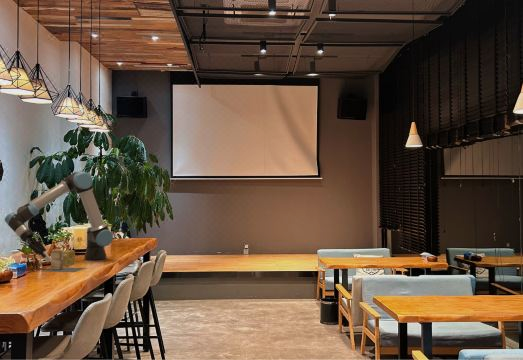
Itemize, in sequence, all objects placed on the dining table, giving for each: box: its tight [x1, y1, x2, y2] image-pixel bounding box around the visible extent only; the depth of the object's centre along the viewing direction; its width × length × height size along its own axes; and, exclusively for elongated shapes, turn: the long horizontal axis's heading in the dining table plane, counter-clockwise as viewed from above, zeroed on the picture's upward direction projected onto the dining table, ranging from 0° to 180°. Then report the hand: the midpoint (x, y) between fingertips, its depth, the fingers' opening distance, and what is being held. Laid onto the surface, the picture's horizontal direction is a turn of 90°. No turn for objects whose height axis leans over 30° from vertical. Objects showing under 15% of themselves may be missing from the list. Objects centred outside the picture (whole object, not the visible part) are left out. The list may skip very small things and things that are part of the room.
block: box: [50, 249, 64, 270], centre depth 309 cm, size 5×5×12 cm
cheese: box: [62, 249, 76, 267], centre depth 326 cm, size 10×11×10 cm
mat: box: [41, 266, 87, 273], centre depth 308 cm, size 16×22×1 cm
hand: (49, 260), depth 309 cm, fingers closed
